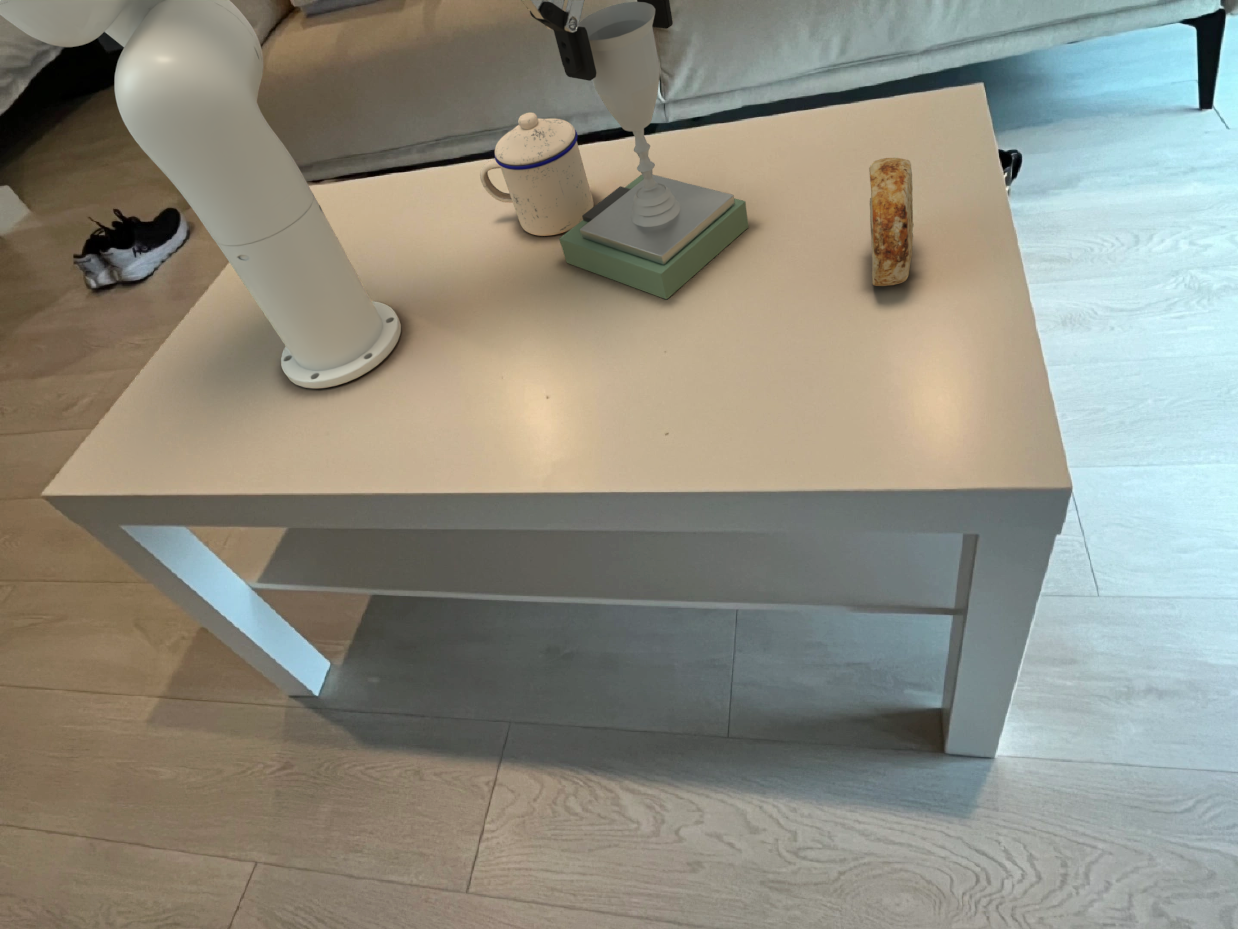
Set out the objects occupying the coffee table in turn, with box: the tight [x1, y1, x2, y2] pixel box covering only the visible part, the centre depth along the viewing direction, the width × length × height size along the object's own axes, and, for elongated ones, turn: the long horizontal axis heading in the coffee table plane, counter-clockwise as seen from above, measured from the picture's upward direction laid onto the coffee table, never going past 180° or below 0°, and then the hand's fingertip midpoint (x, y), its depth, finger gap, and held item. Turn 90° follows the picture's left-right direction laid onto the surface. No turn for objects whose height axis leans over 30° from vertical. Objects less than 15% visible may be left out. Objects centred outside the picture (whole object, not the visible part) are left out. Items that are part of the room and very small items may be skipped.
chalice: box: [579, 1, 681, 227], centre depth 74 cm, size 7×7×18 cm
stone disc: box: [868, 157, 914, 287], centre depth 70 cm, size 10×4×10 cm, turn 167°
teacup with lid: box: [479, 112, 595, 237], centre depth 89 cm, size 12×9×12 cm
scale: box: [558, 174, 749, 300], centre depth 83 cm, size 14×13×4 cm
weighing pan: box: [580, 173, 735, 265], centre depth 81 cm, size 11×11×1 cm
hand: (620, 50), depth 69 cm, fingers open, 9 cm apart
